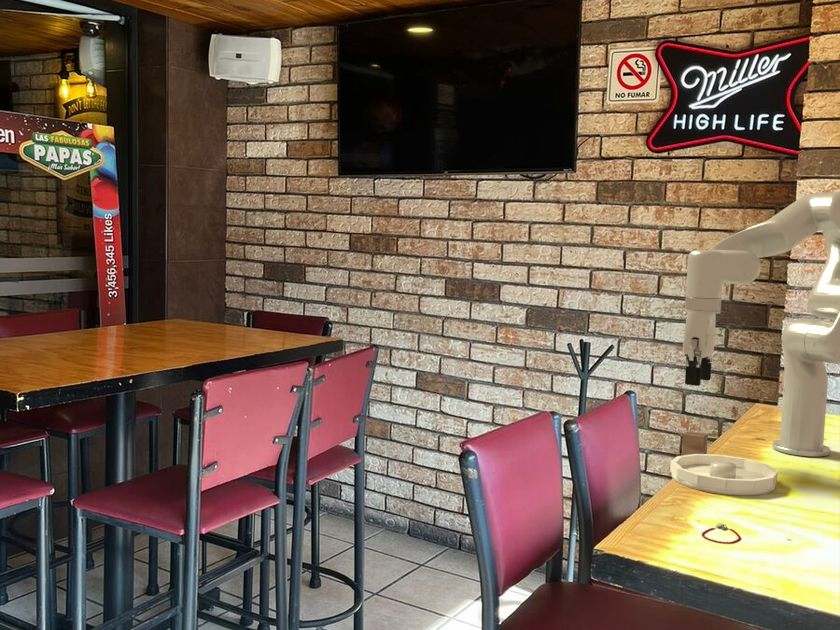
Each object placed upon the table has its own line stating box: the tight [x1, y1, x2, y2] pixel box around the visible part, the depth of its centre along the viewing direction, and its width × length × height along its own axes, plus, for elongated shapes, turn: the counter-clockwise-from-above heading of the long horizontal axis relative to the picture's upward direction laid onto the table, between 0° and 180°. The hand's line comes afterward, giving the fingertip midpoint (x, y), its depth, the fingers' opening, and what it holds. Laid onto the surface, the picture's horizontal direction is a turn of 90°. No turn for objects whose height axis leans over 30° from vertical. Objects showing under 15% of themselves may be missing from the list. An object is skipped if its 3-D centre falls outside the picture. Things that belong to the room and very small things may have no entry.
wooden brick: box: [681, 430, 709, 456], centre depth 189 cm, size 4×4×6 cm
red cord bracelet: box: [701, 522, 742, 545], centre depth 140 cm, size 9×6×1 cm
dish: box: [669, 453, 779, 497], centre depth 172 cm, size 20×20×4 cm
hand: (697, 382), depth 187 cm, fingers open, 9 cm apart
